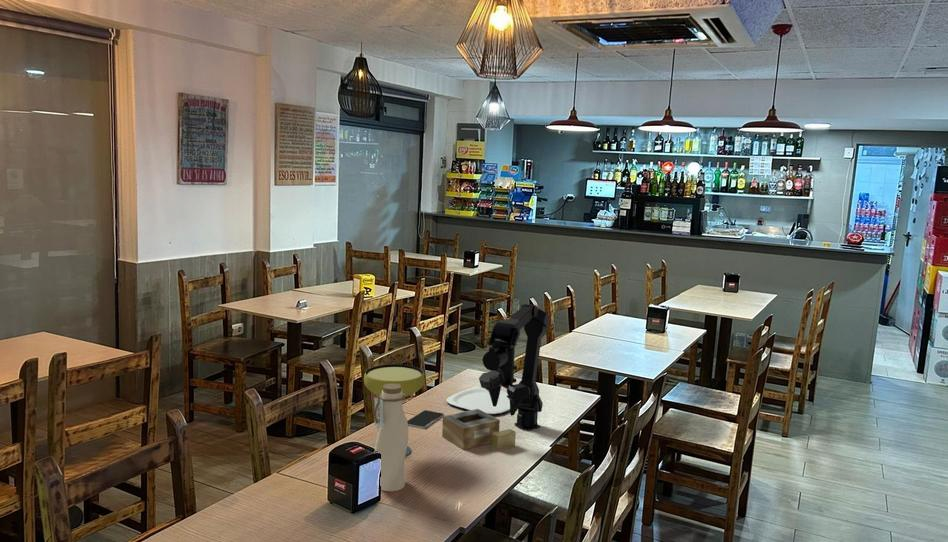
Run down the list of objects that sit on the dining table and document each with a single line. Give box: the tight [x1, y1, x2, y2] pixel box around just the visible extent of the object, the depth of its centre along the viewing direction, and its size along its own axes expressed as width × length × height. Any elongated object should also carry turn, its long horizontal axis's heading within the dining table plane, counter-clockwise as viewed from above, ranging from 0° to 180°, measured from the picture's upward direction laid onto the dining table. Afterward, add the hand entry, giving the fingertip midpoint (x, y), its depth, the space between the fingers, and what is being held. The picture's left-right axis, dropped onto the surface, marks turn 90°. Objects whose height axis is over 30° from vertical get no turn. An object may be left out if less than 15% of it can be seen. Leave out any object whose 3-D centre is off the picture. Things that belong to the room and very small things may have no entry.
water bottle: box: [373, 384, 409, 492], centre depth 182 cm, size 10×9×28 cm
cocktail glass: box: [363, 363, 425, 457], centre depth 205 cm, size 18×18×25 cm
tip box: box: [441, 409, 501, 450], centre depth 218 cm, size 14×12×7 cm
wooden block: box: [491, 428, 517, 452], centre depth 212 cm, size 7×3×5 cm, turn 125°
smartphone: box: [407, 409, 445, 430], centre depth 234 cm, size 8×1×15 cm
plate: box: [445, 386, 510, 415], centre depth 254 cm, size 25×25×2 cm
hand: (503, 410), depth 211 cm, fingers open, 9 cm apart
